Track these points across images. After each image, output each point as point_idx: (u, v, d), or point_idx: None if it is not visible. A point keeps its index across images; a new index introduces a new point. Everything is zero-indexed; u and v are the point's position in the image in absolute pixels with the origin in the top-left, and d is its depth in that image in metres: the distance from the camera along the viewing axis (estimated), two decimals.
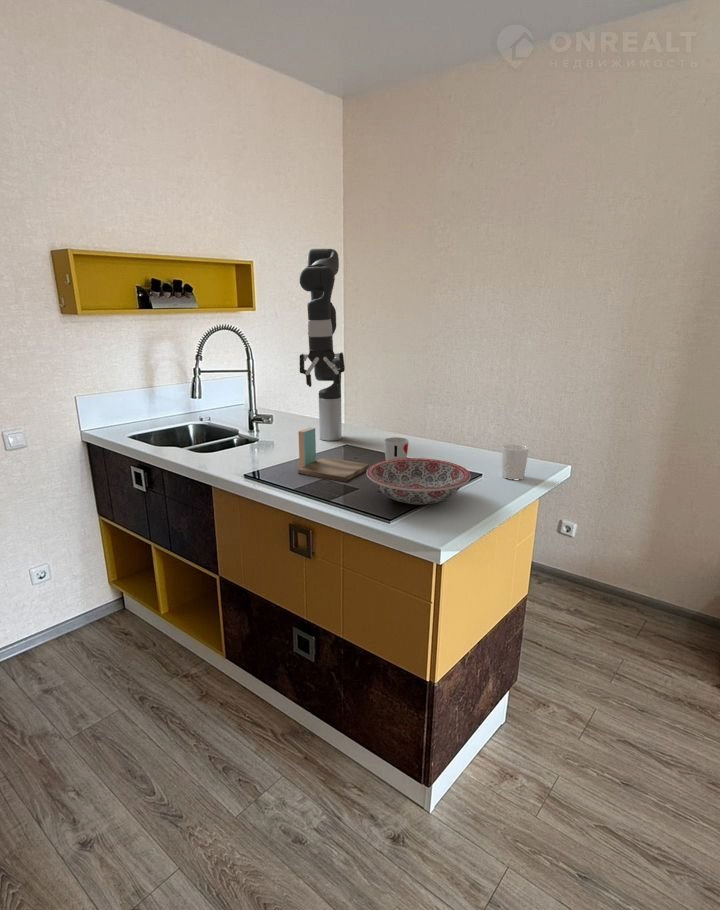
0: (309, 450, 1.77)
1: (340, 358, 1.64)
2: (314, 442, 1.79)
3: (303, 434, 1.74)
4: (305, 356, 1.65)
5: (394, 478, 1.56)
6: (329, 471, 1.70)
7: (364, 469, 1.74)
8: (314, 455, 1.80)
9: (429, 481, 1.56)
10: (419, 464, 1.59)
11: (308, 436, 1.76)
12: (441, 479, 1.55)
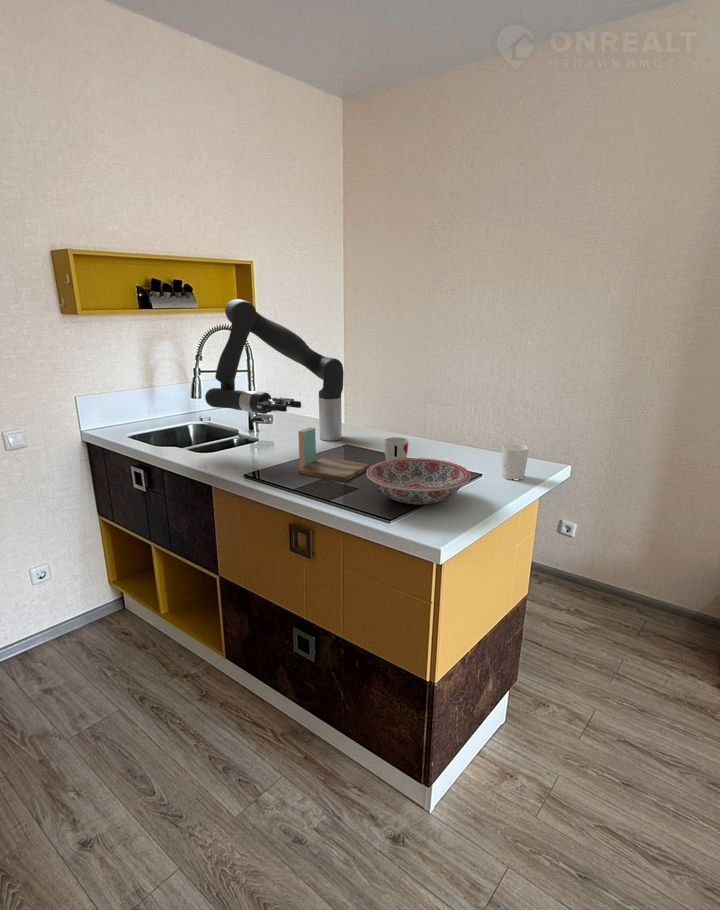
0: (309, 450, 1.77)
1: None
2: (314, 442, 1.79)
3: (303, 434, 1.74)
4: None
5: (394, 478, 1.56)
6: (329, 471, 1.70)
7: (364, 469, 1.74)
8: (314, 455, 1.80)
9: (429, 481, 1.56)
10: (419, 464, 1.59)
11: (308, 436, 1.76)
12: (441, 479, 1.55)
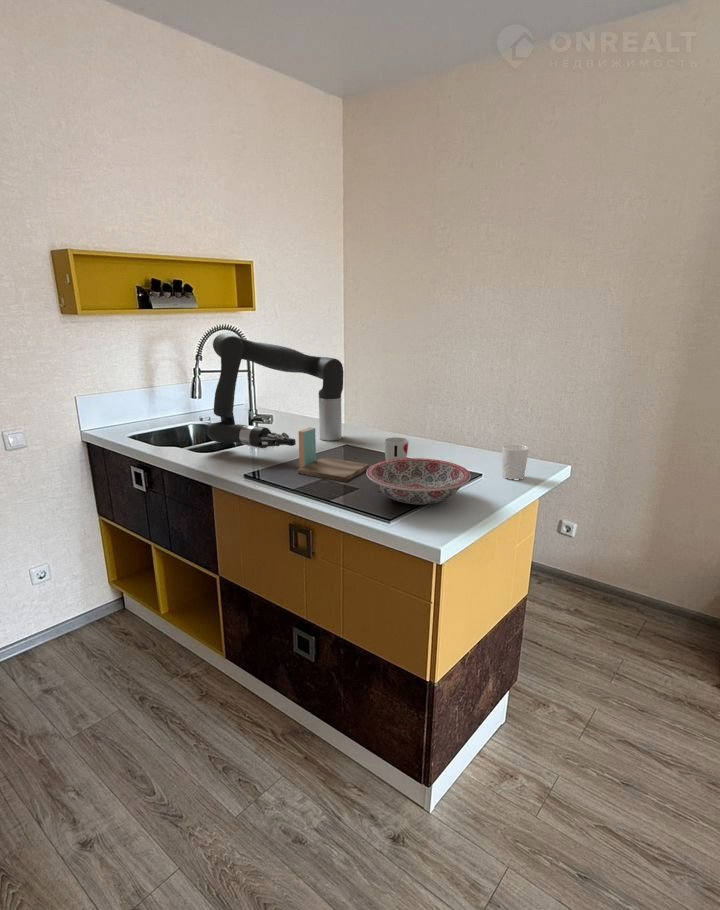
0: (309, 450, 1.77)
1: None
2: (314, 442, 1.79)
3: (303, 434, 1.74)
4: None
5: (394, 478, 1.56)
6: (329, 471, 1.70)
7: (364, 469, 1.74)
8: (314, 455, 1.80)
9: (429, 481, 1.56)
10: (419, 464, 1.59)
11: (308, 436, 1.76)
12: (441, 479, 1.55)
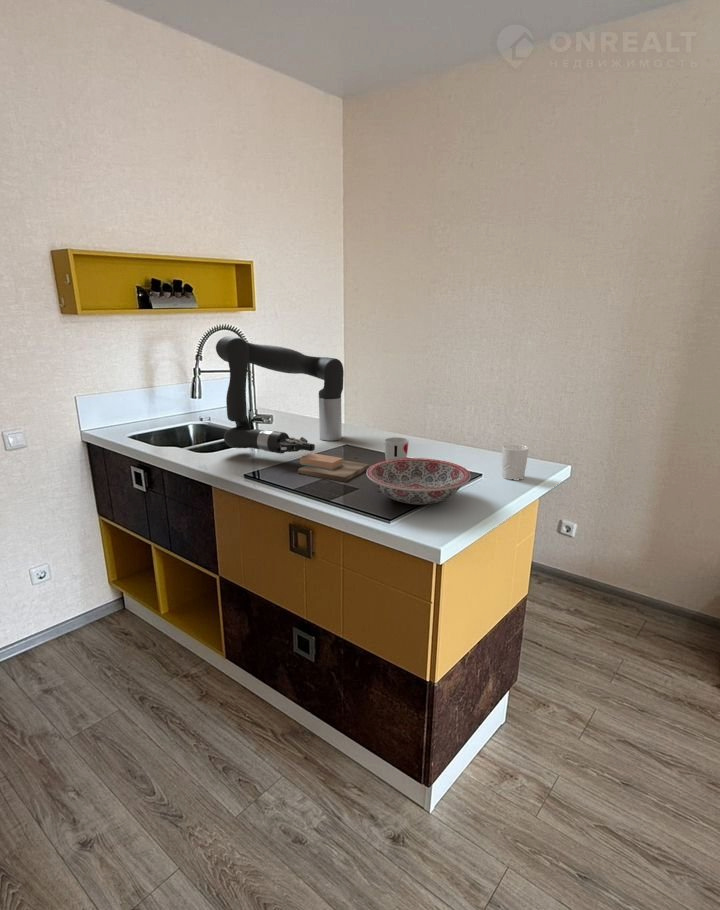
0: None
1: None
2: None
3: (330, 468, 1.71)
4: None
5: (394, 478, 1.56)
6: (329, 471, 1.70)
7: (364, 469, 1.74)
8: None
9: (429, 481, 1.56)
10: (419, 464, 1.59)
11: None
12: (441, 479, 1.55)
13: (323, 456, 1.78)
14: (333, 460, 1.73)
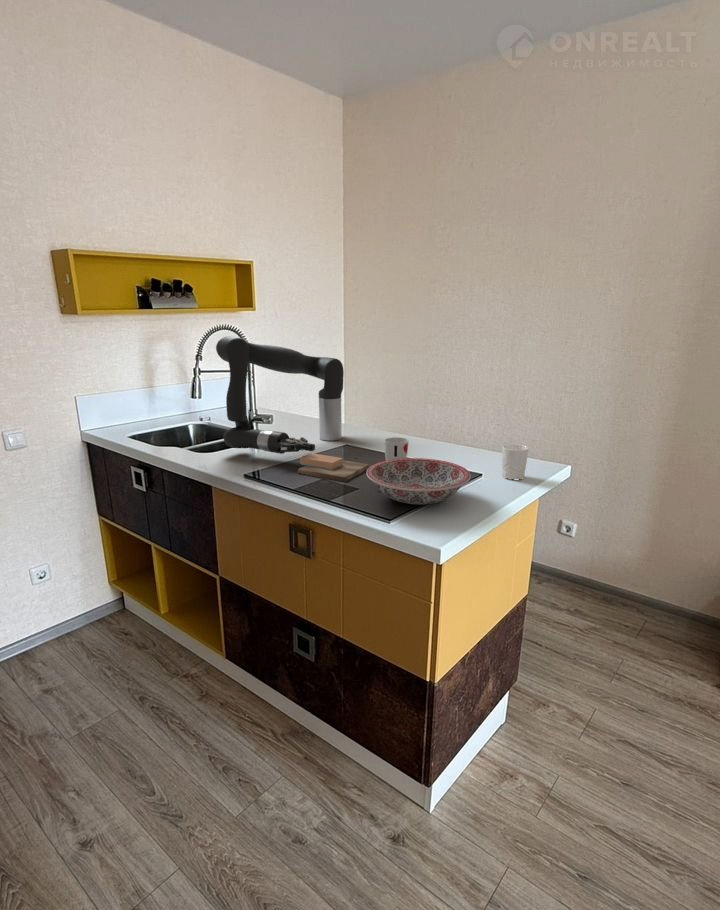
0: None
1: None
2: None
3: (330, 468, 1.71)
4: None
5: (394, 478, 1.56)
6: (329, 471, 1.70)
7: (364, 469, 1.74)
8: None
9: (429, 481, 1.56)
10: (419, 464, 1.59)
11: None
12: (441, 479, 1.55)
13: (323, 456, 1.78)
14: (333, 460, 1.73)
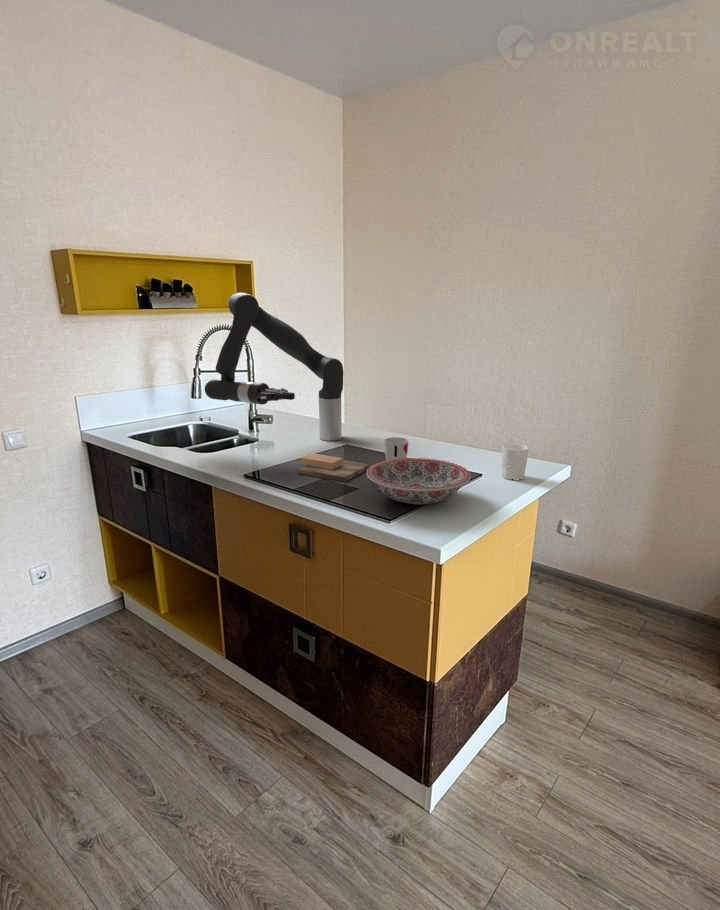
0: None
1: None
2: None
3: (330, 468, 1.71)
4: None
5: (394, 478, 1.56)
6: (329, 471, 1.70)
7: (364, 469, 1.74)
8: None
9: (429, 481, 1.56)
10: (419, 464, 1.59)
11: None
12: (441, 479, 1.55)
13: (323, 456, 1.78)
14: (333, 460, 1.73)
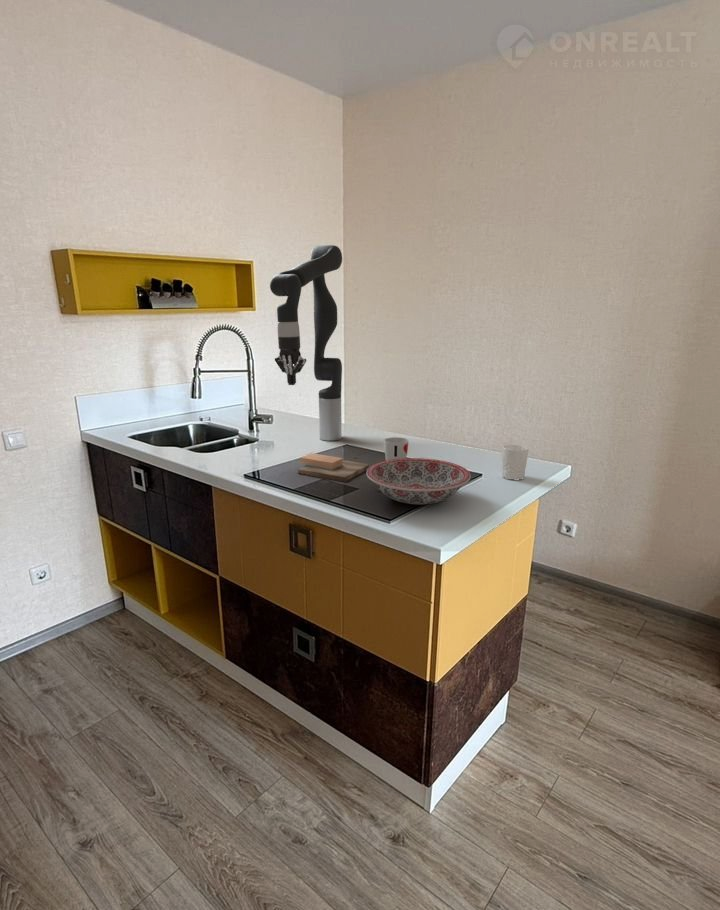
0: None
1: (299, 362, 1.81)
2: None
3: (330, 468, 1.71)
4: (279, 357, 1.86)
5: (394, 478, 1.56)
6: (329, 471, 1.70)
7: (364, 469, 1.74)
8: None
9: (429, 481, 1.56)
10: (419, 464, 1.59)
11: None
12: (441, 479, 1.55)
13: (323, 456, 1.78)
14: (333, 460, 1.73)
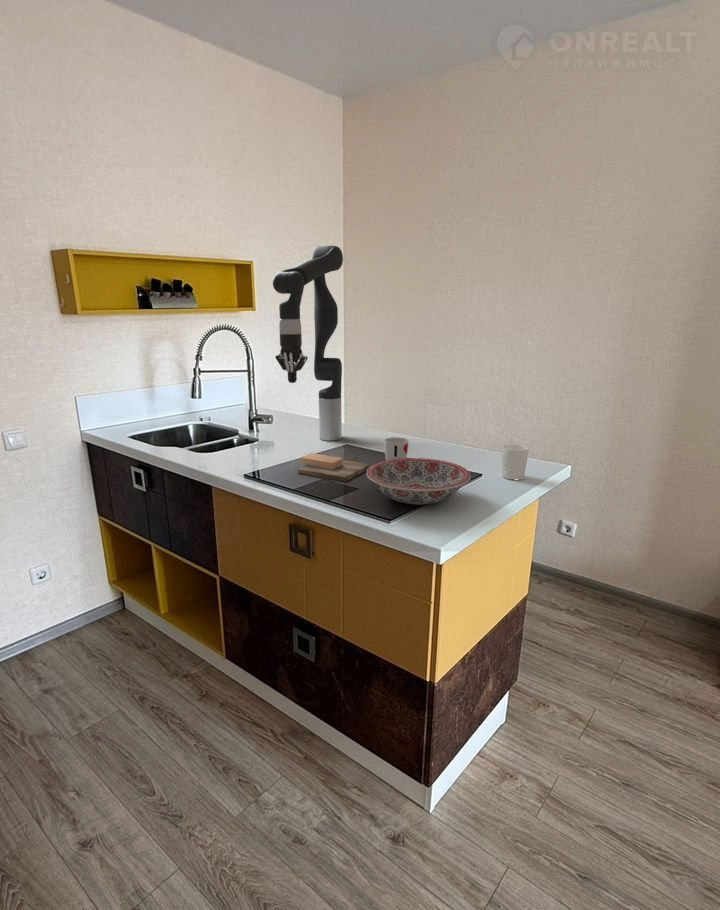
0: None
1: (300, 360, 1.81)
2: None
3: (330, 468, 1.71)
4: (280, 355, 1.85)
5: (394, 478, 1.56)
6: (329, 471, 1.70)
7: (364, 469, 1.74)
8: None
9: (429, 481, 1.56)
10: (419, 464, 1.59)
11: None
12: (441, 479, 1.55)
13: (323, 456, 1.78)
14: (333, 460, 1.73)
